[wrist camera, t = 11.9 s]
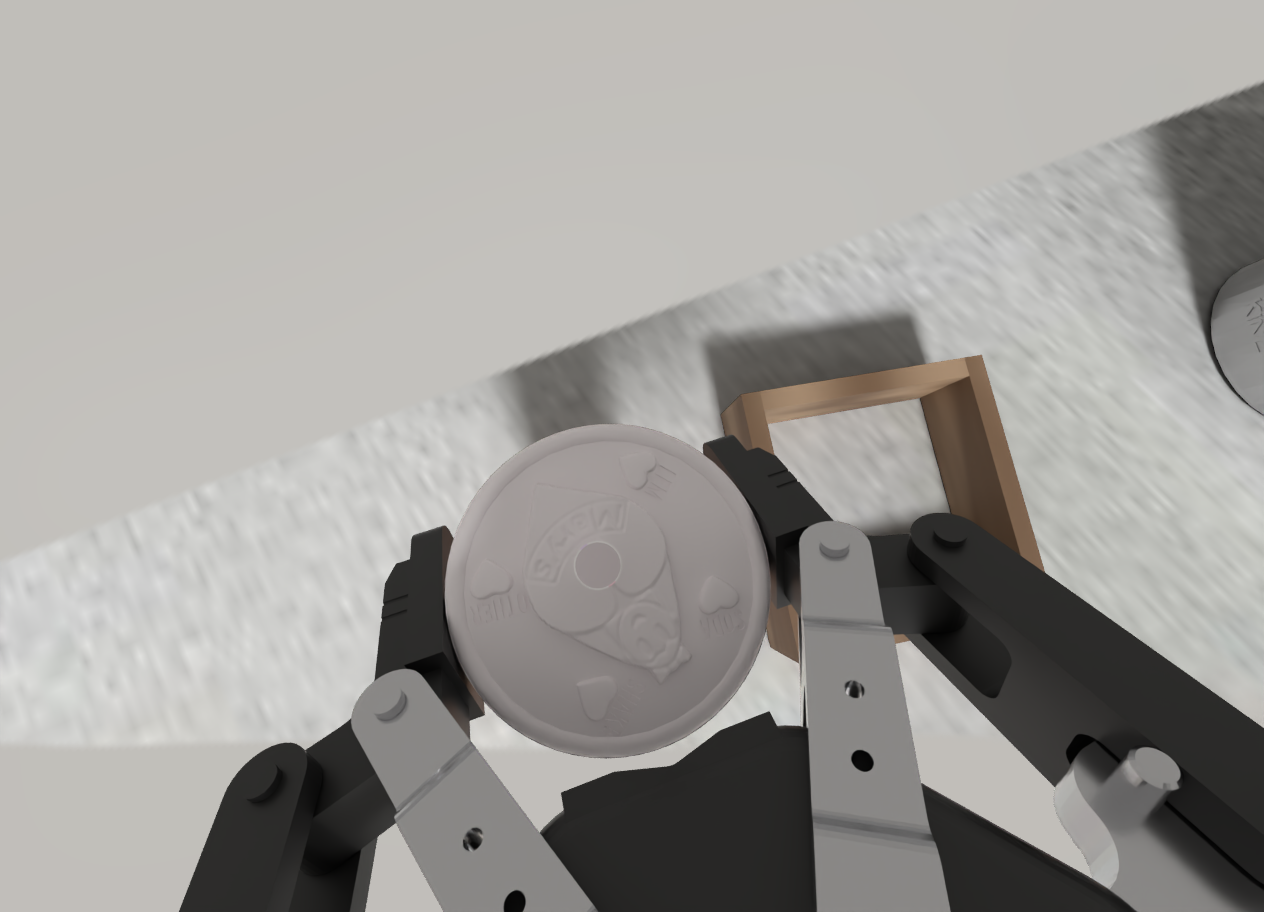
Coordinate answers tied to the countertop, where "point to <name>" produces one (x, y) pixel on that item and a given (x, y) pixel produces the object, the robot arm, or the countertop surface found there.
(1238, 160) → the countertop surface
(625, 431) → the smoothie
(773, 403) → the crate
